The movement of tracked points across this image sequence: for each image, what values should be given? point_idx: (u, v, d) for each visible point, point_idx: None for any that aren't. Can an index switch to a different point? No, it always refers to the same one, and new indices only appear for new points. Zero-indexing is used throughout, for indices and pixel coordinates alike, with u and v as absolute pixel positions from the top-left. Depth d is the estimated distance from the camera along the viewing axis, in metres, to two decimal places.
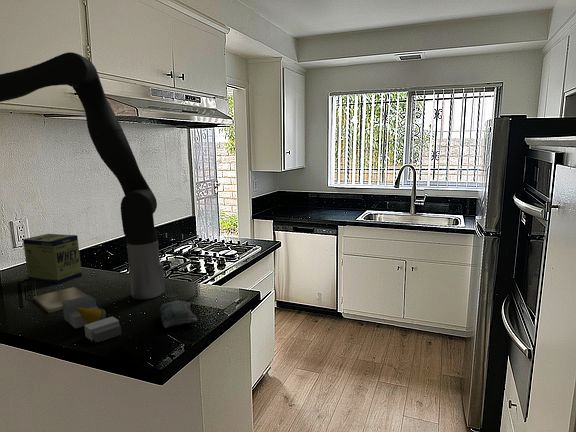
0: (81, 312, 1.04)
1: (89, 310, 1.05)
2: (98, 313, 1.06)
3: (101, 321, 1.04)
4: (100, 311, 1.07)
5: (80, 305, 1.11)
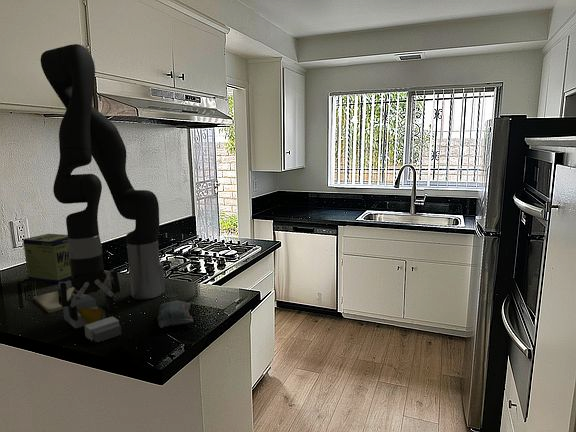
0: (81, 312, 1.04)
1: (89, 310, 1.05)
2: (98, 313, 1.06)
3: (101, 321, 1.04)
4: (100, 311, 1.07)
5: (80, 305, 1.11)
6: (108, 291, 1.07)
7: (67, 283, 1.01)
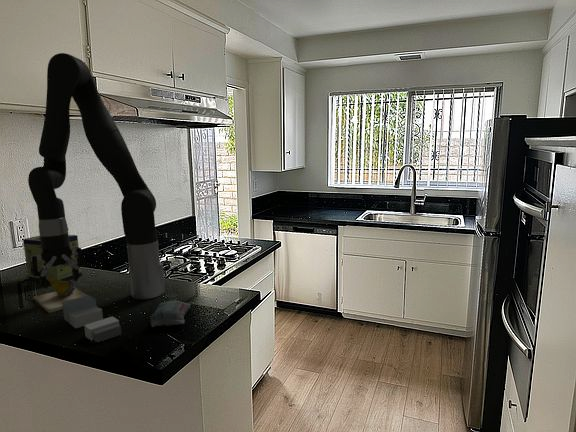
0: (52, 283, 1.25)
1: (58, 281, 1.26)
2: (66, 284, 1.28)
3: (101, 321, 1.04)
4: (68, 283, 1.28)
5: (80, 305, 1.11)
6: (74, 264, 1.28)
7: (38, 256, 1.22)
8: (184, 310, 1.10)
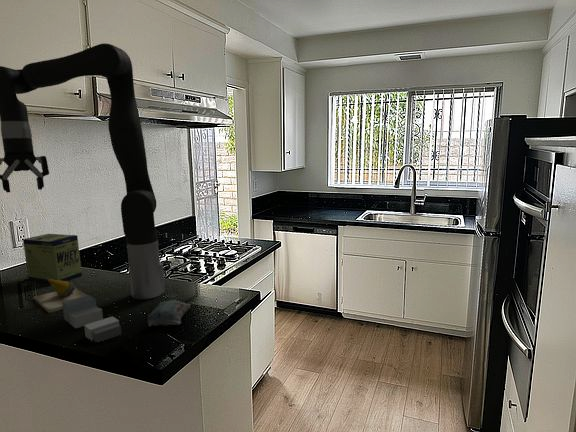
0: (52, 283, 1.25)
1: (58, 281, 1.26)
2: (66, 284, 1.28)
3: (101, 321, 1.04)
4: (68, 283, 1.28)
5: (80, 305, 1.11)
6: (38, 172, 1.28)
7: (0, 159, 1.21)
8: (182, 310, 1.10)
